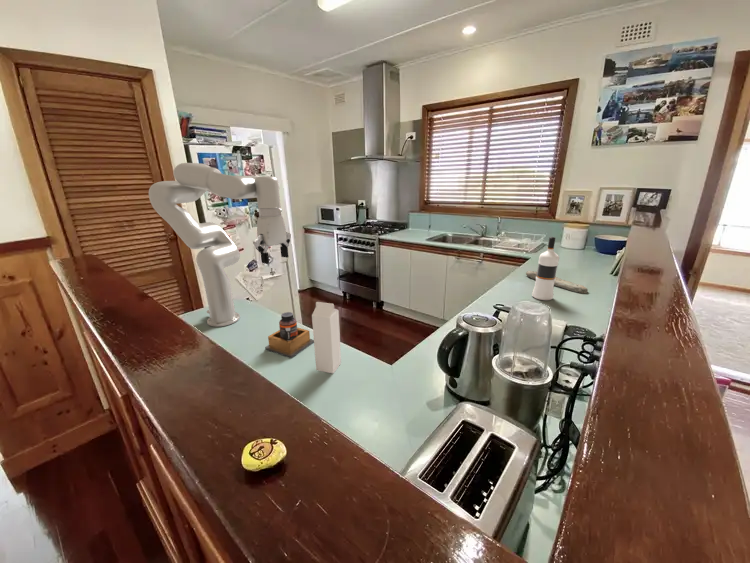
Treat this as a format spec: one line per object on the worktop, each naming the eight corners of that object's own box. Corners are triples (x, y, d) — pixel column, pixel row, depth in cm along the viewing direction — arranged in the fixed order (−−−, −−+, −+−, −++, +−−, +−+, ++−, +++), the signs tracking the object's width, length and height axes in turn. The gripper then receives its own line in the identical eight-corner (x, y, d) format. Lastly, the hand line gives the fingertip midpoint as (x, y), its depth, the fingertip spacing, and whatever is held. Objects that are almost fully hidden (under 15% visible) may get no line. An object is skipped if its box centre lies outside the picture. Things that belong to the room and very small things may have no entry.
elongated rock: (579, 298, 157) (590, 295, 161) (582, 288, 155) (593, 286, 160) (520, 275, 186) (531, 274, 190) (522, 267, 184) (534, 266, 189)
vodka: (528, 294, 158) (537, 235, 148) (546, 294, 158) (556, 235, 148) (537, 301, 149) (548, 239, 140) (556, 300, 149) (568, 238, 140)
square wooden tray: (265, 349, 109) (263, 337, 108) (289, 335, 119) (288, 323, 118) (291, 358, 104) (289, 345, 102) (314, 342, 114) (313, 330, 112)
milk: (324, 360, 103) (320, 298, 96) (341, 363, 101) (338, 300, 94) (315, 370, 97) (310, 305, 90) (333, 374, 95) (329, 307, 89)
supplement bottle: (294, 348, 108) (291, 318, 105) (278, 346, 109) (274, 317, 106) (301, 339, 114) (298, 311, 110) (286, 338, 115) (283, 310, 111)
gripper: (280, 210, 119) (284, 254, 124) (242, 215, 105) (249, 264, 110) (295, 211, 116) (299, 256, 121) (258, 216, 101) (264, 267, 107)
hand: (275, 260), depth 115 cm, fingers open, 9 cm apart
